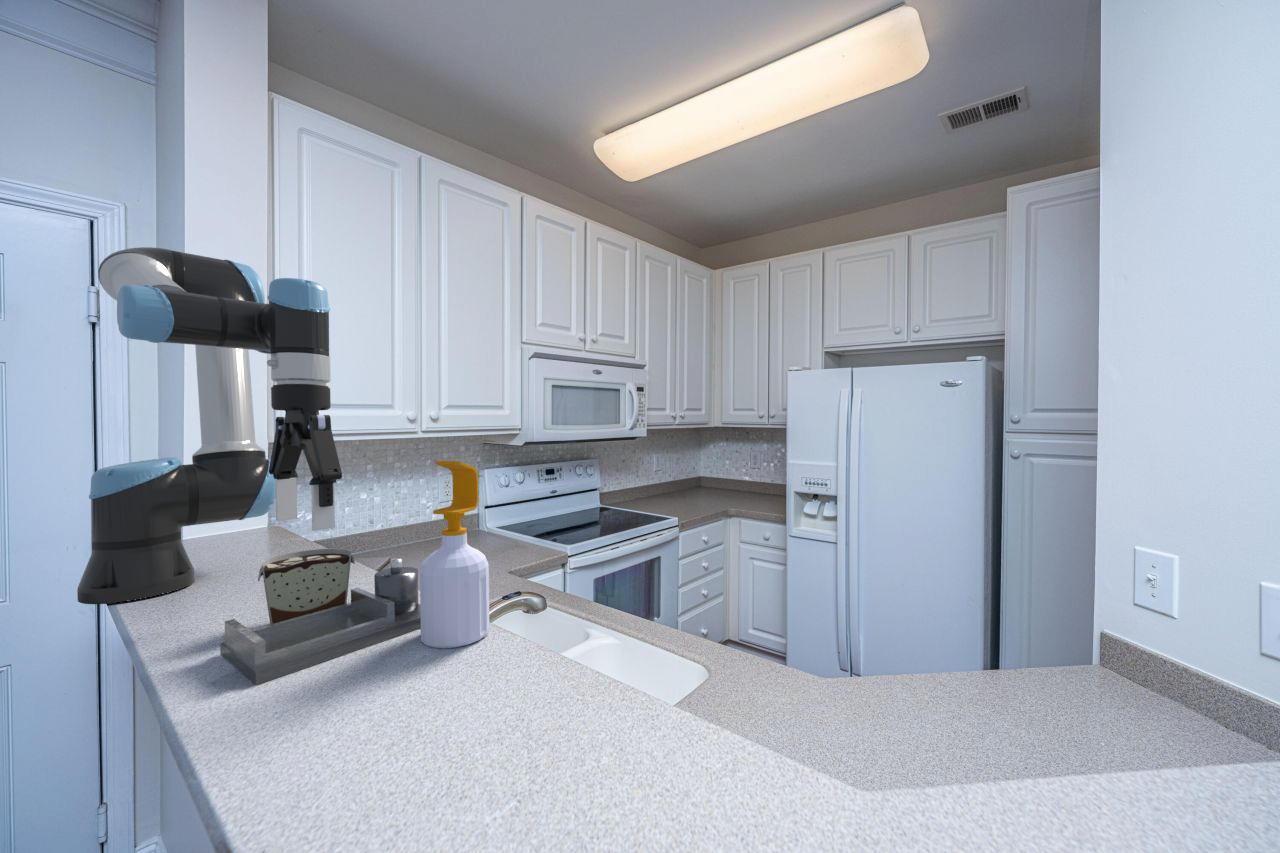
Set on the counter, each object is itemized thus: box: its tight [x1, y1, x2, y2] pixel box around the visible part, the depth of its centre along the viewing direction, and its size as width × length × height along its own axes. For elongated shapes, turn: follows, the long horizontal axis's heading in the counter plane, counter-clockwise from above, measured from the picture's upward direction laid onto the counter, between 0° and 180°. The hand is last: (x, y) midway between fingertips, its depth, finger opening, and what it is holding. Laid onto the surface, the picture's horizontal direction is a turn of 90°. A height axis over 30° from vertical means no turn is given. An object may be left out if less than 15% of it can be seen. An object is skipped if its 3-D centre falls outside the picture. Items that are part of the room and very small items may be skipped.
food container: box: [257, 548, 356, 625], centre depth 79 cm, size 12×6×10 cm, turn 134°
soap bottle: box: [419, 460, 491, 649], centre depth 72 cm, size 9×9×25 cm
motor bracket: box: [219, 557, 421, 686], centre depth 72 cm, size 13×23×9 cm, turn 143°
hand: (304, 524), depth 79 cm, fingers open, 13 cm apart
